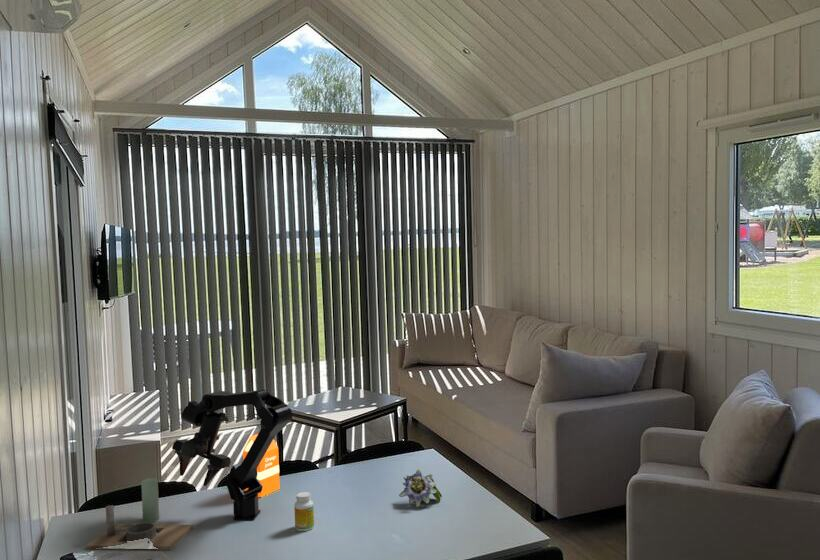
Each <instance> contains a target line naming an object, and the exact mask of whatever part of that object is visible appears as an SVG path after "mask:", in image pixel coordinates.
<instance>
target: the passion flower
mask: <svg viewBox="0 0 820 560" xmlns="http://www.w3.org/2000/svg"><path fill="white" fill-rule="evenodd" d="M422 474H423V473H422V470H421V469H417V470H416V471H415V473H414V474H412V475H408V474H407V475H405V476H406V477H405V476H403V480H404V482H402V485H403V486H404V488H403V491H401V492H400V493H399V497H400V498H404V497H406V496H407V497H408V503H409V505H413V504H414V505H415V507H416V508H420V505H421V502H422V501H423V502H424V503H425V504H426V505H427V504H429V503H430V495H431V494H432V496H433V497H434V498H435V499H436V501H437V502H438V503H440V502H441V498H442V493H441V492H440V491H439V489H438V487H437V486H436V485H437V482H435V480H434V479H433V476H434V475H433V474H427V475H425V476H424V475H422Z"/></svg>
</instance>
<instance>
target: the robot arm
mask: <svg viewBox="0 0 820 560" xmlns="http://www.w3.org/2000/svg"><path fill="white" fill-rule="evenodd" d="M248 405H252V406H253V407H254V409H255V412H256V415H257V416H258V417H259V418H260V430H259V432H258V433H257V434H258V435H257V437H256V439H255V441H254V442H253V444H252V446H251V448H250V449H249V451H248V453H247V455H246V457H245V458H244V459H243V460H242V461H240V462H238V463H235V464H234V465H232V466H231V463H232V461H231V460H232V459H231V457H230V456H227V455H225V454H222V453H220V454H214V453H215V452H216V448H214V447H215V443H216V441H218V440H219V439H220V436H219V435H218V434H219V431H220V428H221V425H222V422H229V419H228V418H229V417H227V415H226V413H225V412H217V411H220V410H223V409H227V408H230V407H239V406H240V407H241V406H248ZM265 405H267V406H268V407H266V406H265ZM181 419H182V421H184V422H187V423H189V424H191V425H193V426H195V427H199V430H198V431H197V432H195V434H194V435H193V438H191V439H176V440H175V441H174V442H173V443H172V447H171V449H172V450H174V453H175V454H176V455H177V457H178V459H179V476H180V477H182V476H184V475H185V472H186V471H187V468H188V466H189V464H190V461H191V460H192V459H194V458H196V457H197V456H199V457H202V458H204V459H206V460H209V461H208V463H209V464H207V465H206V466H207V467H206V468H207V472H206V475H205V477H204V481H203V485H202V486H203V487H206V486H207V485H209V483H210V481H212V479H214V477H215V476H216V475H217V474H218V473H219V472H220V471H221V470H222V469H225V468H230V466H231V468H230V470H229V472H228V474H226V477H227V478H226V480H225V483H226V488H227V491H228V495H229V497H230V500H233V503H232V504H233V517H232V518H233V520H234V521H238V520H239V521H240V520H241V521H243V520H244V521H248V520H249V521H254V520H255V519H256V518H257V517H258V515H260V513H261V511H262V510H261V509H259V498H258V493H260V492H262V488H263V486H262V485H261V483H260V482H259V480H258V479H257V467H258V465H259V464H260V462H261V460H262V458H263V457H264V455H265V453H266V451H267V450H268V448H269V446H270V444H271V443H272V441H273V439H274V440H275V437H276V435H277V434H278V433H279V432H281V431H282V430H283V429H285V427H286V426H288V424H289V423H290V422H291V420H292V419H293V412H292V408H291V407H290V406H289V405H288V404H286V403H285V402H284V401H283V400H282V399H280V398H278V397H276V396H274V395H273V394H271V393H270V392H269V391H268V390H267V389H265V388H264V389H263V388H261V389H257V390H250V391H241V392H233V393H232V392H229V391H224V390H219V391H218V390H217V391H214V392H210V393H206V394H204V395H203V396H202V398H201V401H199V403H198V402H197V401H195V400H191V401H188V403H187V405H186V406H185V407H184V409H183V410H182V412H181ZM247 488H248V489H247ZM245 489H247V490H245Z"/></svg>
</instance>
